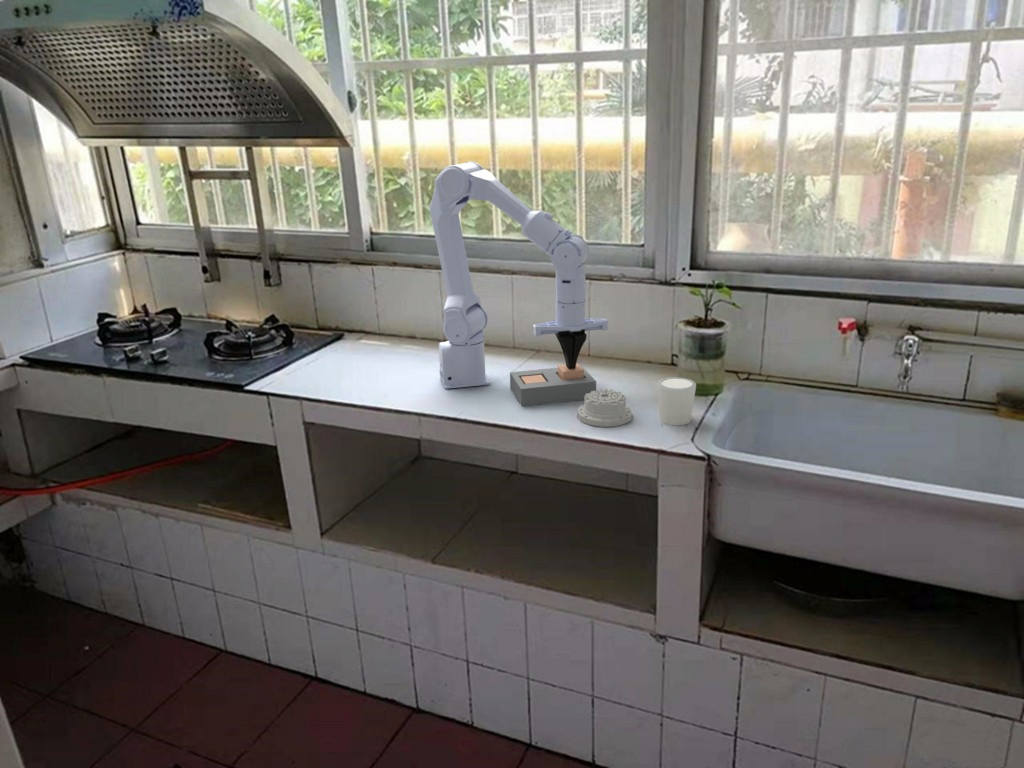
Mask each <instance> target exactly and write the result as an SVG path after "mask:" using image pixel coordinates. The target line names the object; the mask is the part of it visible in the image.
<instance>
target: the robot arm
mask: <svg viewBox="0 0 1024 768" xmlns="http://www.w3.org/2000/svg"><path fill="white" fill-rule="evenodd" d="M433 182H434V191H433V195H432V199H431V201H430V206H429V212H430V213H429V214H430V218H431V223H432V229H433V233H434V238H435V242H436V246H437V254H438V257H439V262H440V267H441V273H442V277H443V281H444V282H443V283H444V286H445V287H444V288H445V291H446V296H447V297H446V300H445V303H444V307H443V314H444V315H443V317H444V319H443V323H442V331H443V334H444V336H445V338H446V339H447V340H446V341H441V342H439V343H438V356H439V360H438V361H439V376H440V380H441V382H442V384H443V388H444V389H446V390H447V389H448V390H449V389H457V388H458V389H459V388H467V387H468V388H470V387H479V386H486V385H491V381H490V379H489V378H488V377H489V376H488V375H487V374H486V359H485V357H486V356H485V355H486V354H485V336H484V330H485V328H487V325H488V321H489V317H488V314H487V311H486V310H485V309H484V307H483V305H482V303H481V298H480V296H479V295H478V294H477V293H476V292H475V291H474V288H473V282H472V279H471V278H472V277H471V271H470V267H469V262H468V256H467V251H466V247H465V242H464V237H463V232H462V225H461V221H460V217H459V214H460V212H461V211H462V210H463V209H464V207H465V205H466V204H467V203H468V201H470V200H473V201H488V202H489V203H491V204H492V205H493V206H495V207H496V208H498V209H499V210H500V211H502V212H503V213H504V214H506V215H507V216H508V217H509V218H511V219H513V221H515V222H516V223H518V224H519V225H520V226H521V233H522V235H523V236H524V237H525V238H526V239H527V240H529V241H530V242H531V243H533V244H534V245H535V246H536V247H538V248H539V249H540V250H542V251H543V253H545V254H547V255H548V256H550V262H551V263H552V265H553V267H555V278H554V279H555V320H553V321H547V322H542V323H534V324H533V326H532V328H533V333H532V334H533V335H534V336H535V337H541V336H544V335H555V337H556V339H557V341H558V343H559V345H560V347H561V350H562V353H563V357H564V361H565V365H566V367H567V368H568V369H575V368H576V364H577V361H578V358H579V356H580V352H581V350H582V348H583V345H584V344H585V342H586V341H587V336H588V334H587V333H586V332H587V331H599V330H600V331H607V330H608V328H609V326H608V324H609V323H608V322H609V321H608V319H606V317H602V318H589V317H588V318H586V263H585V261H586V260H587V258H588V256H589V252H590V251H589V249H590V248H589V246H588V245H589V244H588V243H587V241H586V240H585V239H584V238H583V236H581V235H579V234H572V233H573V231H571V230H570V229H568V228H567V229H565V228H564V227H563V226H562V225H560V224H559V223H558V222H557V221H555V220H554V219H553V216H554V215H553V214H552V213H551V212H549V211H546V212H545V211H544V210H532V209H530V208H529V207H528V206H527V205H526V204H525V203H524V202H522V200H521V199H519V197H517V196H516V195H515V194H514V193H513V192H512V191H510V189H508V188H507V187H506V186H505V185H504V184H503V183H501V182H500V181H499V179H497V178H496V177H495V176H494V175H493V173H492V172H491V171H490V170H487V169H485V168H484V167H483V166H482V165H481V164H479V163H478V162H476V161H465V162H464V163H460V164H456V165H453V164H452V165H447V166H446V167H444V168H443V169H442V170H441V171H440V172H439V174H438V175H437V177H435V179H433Z"/></svg>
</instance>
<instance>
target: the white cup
mask: <svg viewBox="0 0 1024 768" xmlns="http://www.w3.org/2000/svg"><path fill="white" fill-rule="evenodd" d="M696 389H697V383H696V382H695V381H693V380H692V379H690V378H685V377H674V376H672V377H670V376H669V377H664V378H662V379H659V380H658V381H657V397H658V414H659V415H658V416H659V421H660V422H661V423H664V424H666V425H671V426H683V425H687V424H689V423H690V422H691V421H692V417H693V408H694V401H695V396H696Z"/></svg>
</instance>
